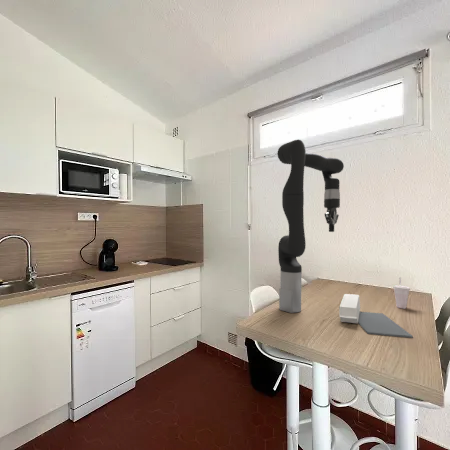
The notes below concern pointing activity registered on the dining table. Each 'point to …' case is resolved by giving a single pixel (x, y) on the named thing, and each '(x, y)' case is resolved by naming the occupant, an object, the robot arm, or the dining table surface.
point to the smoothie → (401, 295)
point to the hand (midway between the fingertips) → (331, 231)
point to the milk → (349, 308)
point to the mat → (380, 325)
